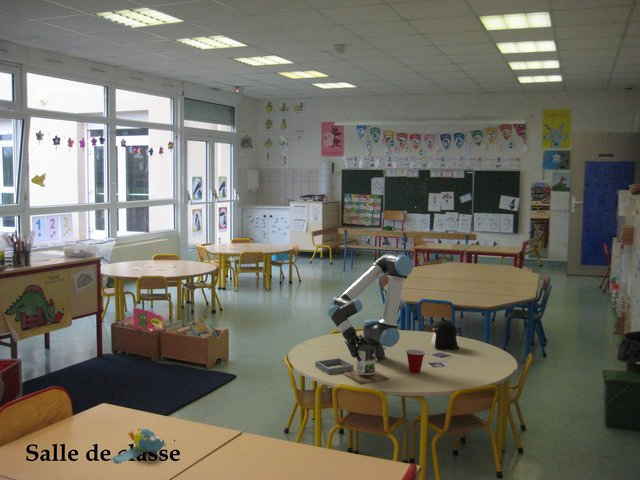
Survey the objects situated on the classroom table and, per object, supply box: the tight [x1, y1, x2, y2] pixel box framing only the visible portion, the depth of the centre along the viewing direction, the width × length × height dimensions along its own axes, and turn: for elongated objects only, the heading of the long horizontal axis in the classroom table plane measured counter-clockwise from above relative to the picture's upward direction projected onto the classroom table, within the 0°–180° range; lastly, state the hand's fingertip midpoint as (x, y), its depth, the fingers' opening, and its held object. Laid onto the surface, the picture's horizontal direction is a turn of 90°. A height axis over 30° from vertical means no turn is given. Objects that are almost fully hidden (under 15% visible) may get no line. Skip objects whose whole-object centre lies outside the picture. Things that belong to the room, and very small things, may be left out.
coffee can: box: [355, 344, 376, 375], centre depth 339 cm, size 10×10×14 cm
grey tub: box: [314, 357, 355, 375], centre depth 355 cm, size 16×16×3 cm
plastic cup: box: [405, 349, 426, 374], centre depth 350 cm, size 11×11×12 cm
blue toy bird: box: [109, 428, 165, 465], centre depth 245 cm, size 28×9×15 cm
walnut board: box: [342, 370, 390, 385], centre depth 340 cm, size 18×18×1 cm
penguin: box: [430, 319, 460, 350], centre depth 401 cm, size 18×18×17 cm
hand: (370, 363), depth 338 cm, fingers closed on coffee can, 10 cm apart
